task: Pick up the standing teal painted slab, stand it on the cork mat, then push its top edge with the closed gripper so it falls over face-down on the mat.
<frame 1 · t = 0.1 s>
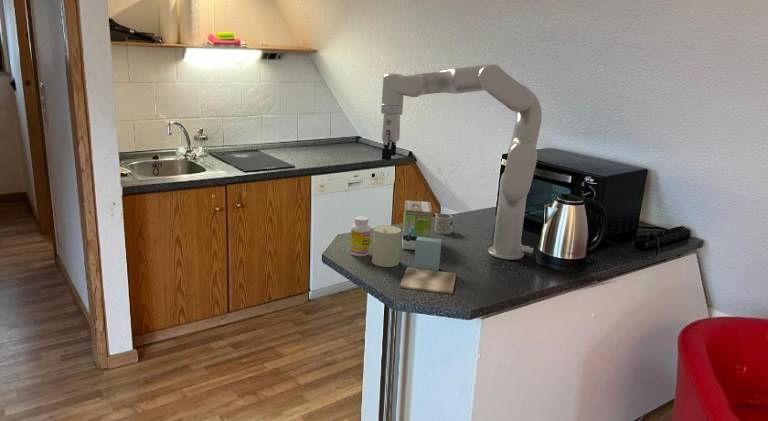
hand: (388, 157, 214), 31 cm above the countertop, tool pointing down, fingers open, 9 cm apart
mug: (441, 231, 239), on the countertop
can: (385, 262, 200), on the countertop
supplement bottle: (359, 254, 207), on the countertop
slab: (426, 268, 197), on the countertop
tea box: (415, 244, 221), on the countertop
mat: (428, 281, 186), on the countertop
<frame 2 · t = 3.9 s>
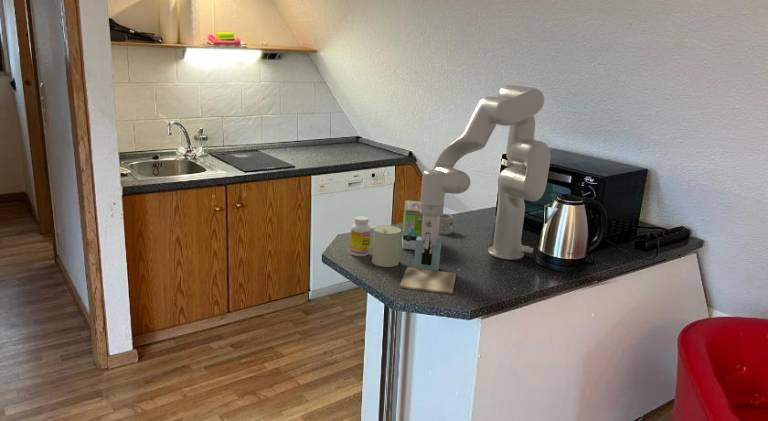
hand: (426, 261, 196), 2 cm above the countertop, tool pointing down, fingers closed on slab, 3 cm apart
slab: (426, 268, 197), on the countertop, touching gripper
everything else where it was.
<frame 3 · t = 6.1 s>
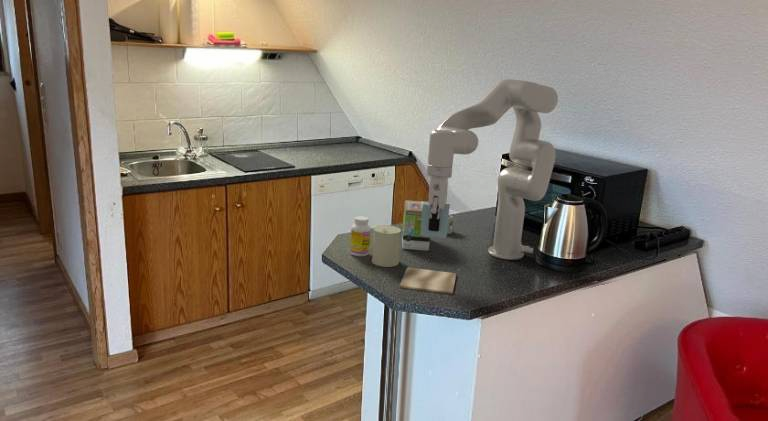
hand: (434, 228, 186), 16 cm above the countertop, tool pointing down, fingers closed on slab, 3 cm apart
slab: (433, 235, 186), point 14 cm above the countertop, touching gripper
everything else where it was.
when the fingers open (4 cm above the countertop, at t = 8.5 s): slab stays where it is, resting on mat.
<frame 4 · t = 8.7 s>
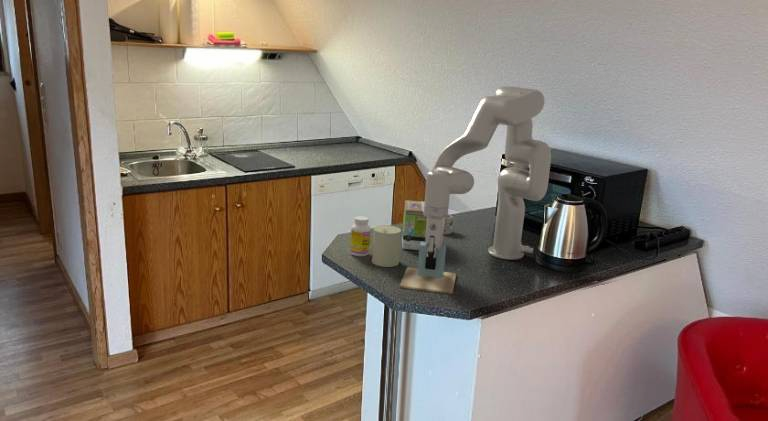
hand: (431, 265, 189), 4 cm above the countertop, tool pointing down, fingers open, 5 cm apart
slab: (430, 274, 190), point 1 cm above the countertop, touching mat
everything else where it was.
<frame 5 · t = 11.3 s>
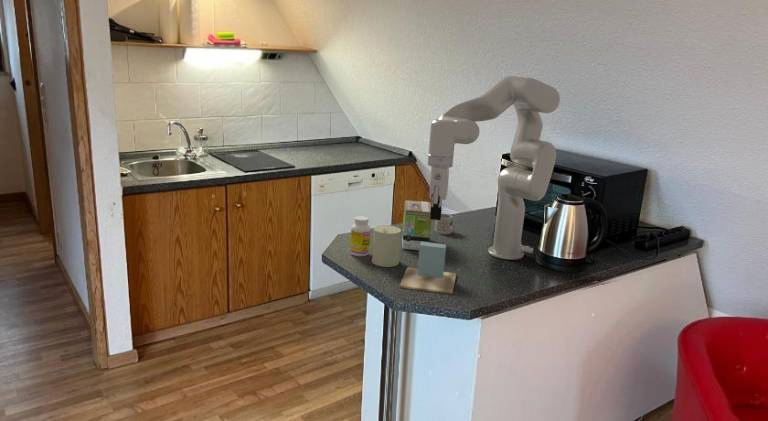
hand: (435, 218, 185), 19 cm above the countertop, tool pointing down, fingers closed
nothing on the countertop moved.
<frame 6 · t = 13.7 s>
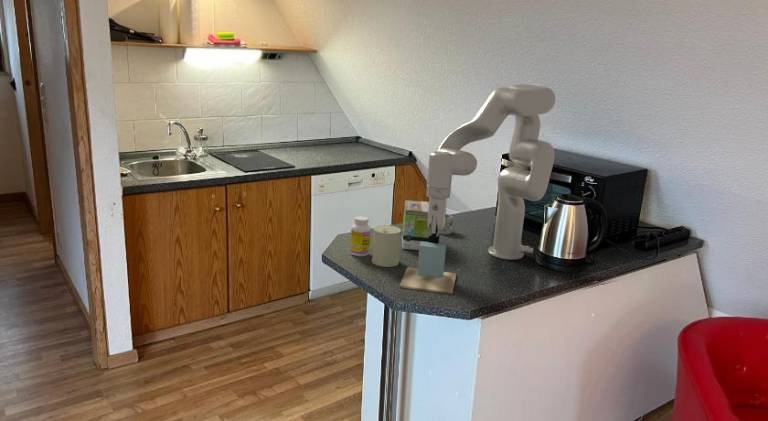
hand: (433, 247, 191), 9 cm above the countertop, tool pointing down, fingers closed
slab: (430, 274, 190), point 1 cm above the countertop, touching gripper, mat
everything else where it was.
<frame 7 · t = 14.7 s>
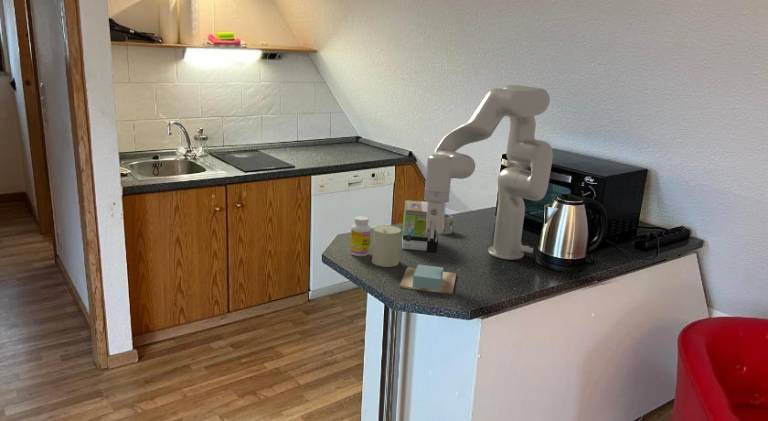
hand: (431, 252, 186), 9 cm above the countertop, tool pointing down, fingers closed
slab: (430, 271, 188), point 2 cm above the countertop, tilted 90°, touching mat
everything else where it was.
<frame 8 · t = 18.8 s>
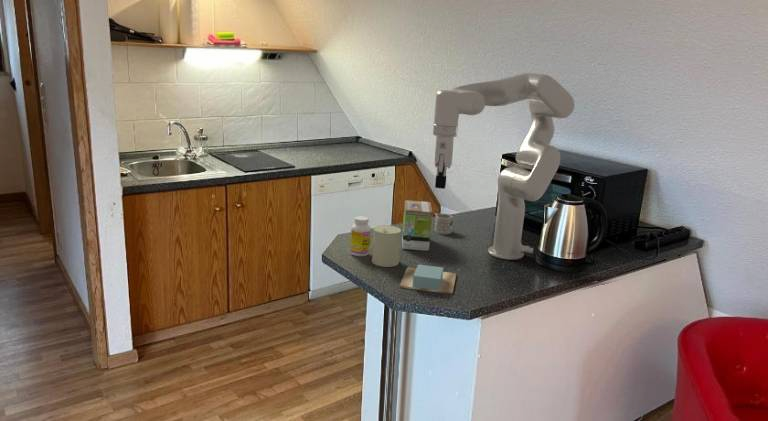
hand: (440, 187, 191), 27 cm above the countertop, tool pointing down, fingers closed
nothing on the countertop moved.
at the end: slab tilted 90°; slab inside the target area (3.3 cm from its centre), point 2.4 cm above the countertop; the gripper is holding nothing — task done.
